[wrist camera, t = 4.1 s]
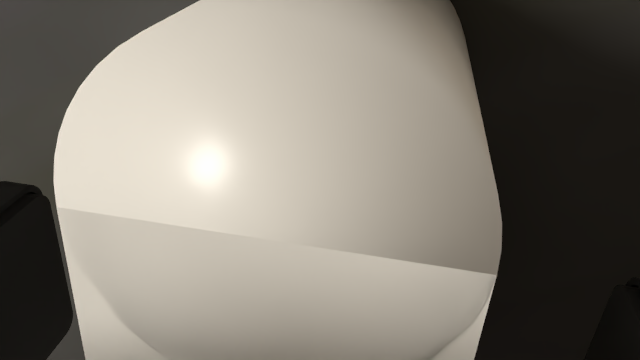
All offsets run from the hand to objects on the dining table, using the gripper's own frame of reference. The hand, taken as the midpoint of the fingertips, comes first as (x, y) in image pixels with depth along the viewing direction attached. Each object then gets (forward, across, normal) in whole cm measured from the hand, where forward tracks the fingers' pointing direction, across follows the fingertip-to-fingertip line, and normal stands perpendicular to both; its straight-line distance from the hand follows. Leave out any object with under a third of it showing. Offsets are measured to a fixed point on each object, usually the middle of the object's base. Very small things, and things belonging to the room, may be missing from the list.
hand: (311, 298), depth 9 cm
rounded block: (+3, 0, 0) cm, 3 cm away
